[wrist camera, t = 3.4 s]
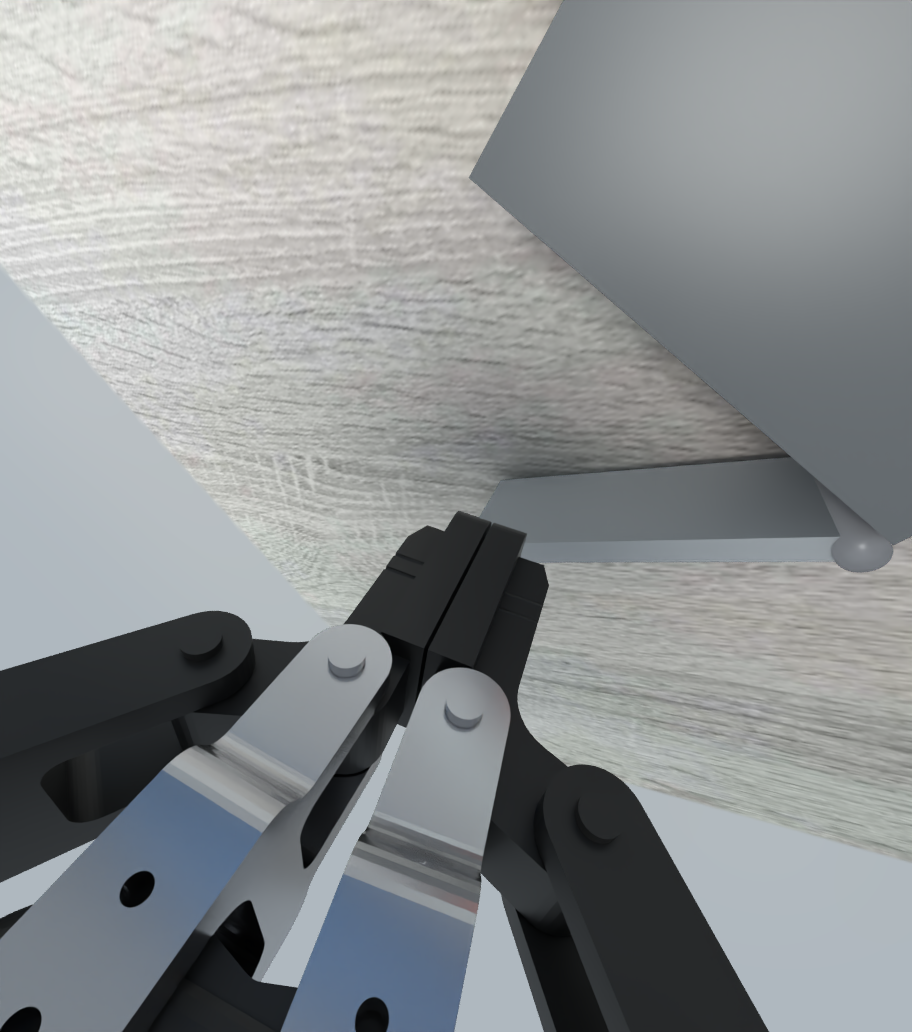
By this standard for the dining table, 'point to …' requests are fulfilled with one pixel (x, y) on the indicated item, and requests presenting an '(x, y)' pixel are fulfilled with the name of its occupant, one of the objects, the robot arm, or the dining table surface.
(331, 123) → the dining table surface
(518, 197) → the camera body
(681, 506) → the side door
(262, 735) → the robot arm
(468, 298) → the dining table surface
